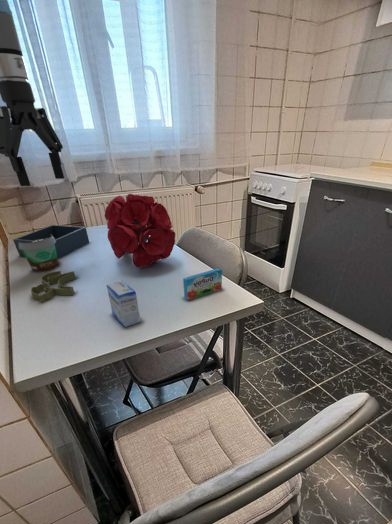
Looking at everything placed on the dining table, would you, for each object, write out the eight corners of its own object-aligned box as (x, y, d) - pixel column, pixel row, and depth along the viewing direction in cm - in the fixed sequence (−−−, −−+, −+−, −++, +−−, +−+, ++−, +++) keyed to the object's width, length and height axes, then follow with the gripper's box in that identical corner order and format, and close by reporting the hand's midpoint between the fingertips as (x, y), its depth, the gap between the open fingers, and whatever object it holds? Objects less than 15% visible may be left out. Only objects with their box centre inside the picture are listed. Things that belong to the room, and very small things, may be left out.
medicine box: (112, 314, 77) (105, 284, 72) (128, 309, 79) (122, 279, 74) (124, 327, 72) (118, 295, 67) (141, 321, 74) (135, 290, 69)
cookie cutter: (73, 297, 86) (71, 291, 85) (29, 304, 83) (27, 297, 82) (77, 274, 100) (75, 268, 98) (39, 279, 97) (37, 273, 96)
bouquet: (104, 281, 111) (132, 261, 85) (82, 217, 107) (105, 176, 81) (154, 270, 122) (192, 249, 96) (136, 212, 118) (171, 174, 92)
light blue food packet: (187, 300, 82) (186, 280, 78) (184, 298, 83) (183, 278, 79) (221, 289, 87) (222, 269, 83) (218, 287, 88) (218, 267, 84)
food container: (35, 275, 100) (24, 246, 94) (28, 271, 103) (16, 242, 97) (69, 265, 107) (60, 236, 101) (61, 261, 110) (52, 233, 104)
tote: (19, 256, 116) (12, 239, 112) (56, 240, 133) (52, 224, 129) (55, 260, 112) (49, 242, 108) (89, 242, 128) (85, 227, 124)
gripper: (-21, 73, 60) (20, 189, 73) (60, 85, 79) (82, 176, 92) (-47, 76, 62) (-3, 189, 75) (38, 87, 81) (62, 175, 94)
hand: (43, 182), depth 84 cm, fingers open, 13 cm apart
